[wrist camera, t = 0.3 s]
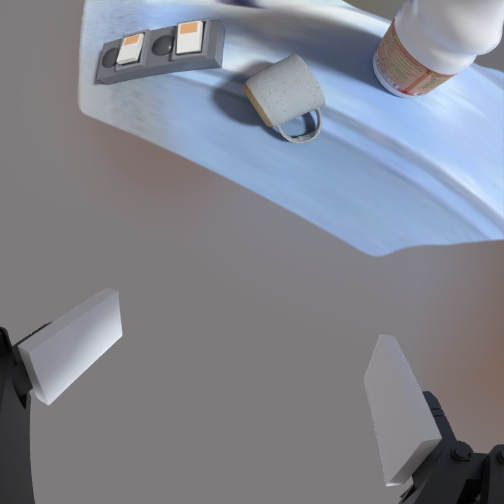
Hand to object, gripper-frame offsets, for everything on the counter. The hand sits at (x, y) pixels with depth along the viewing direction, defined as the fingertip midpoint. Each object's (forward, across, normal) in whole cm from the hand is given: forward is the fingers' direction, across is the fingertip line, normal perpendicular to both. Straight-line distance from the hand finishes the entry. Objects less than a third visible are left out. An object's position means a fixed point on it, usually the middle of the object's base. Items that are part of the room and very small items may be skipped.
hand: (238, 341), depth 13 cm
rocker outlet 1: (+23, -24, +26) cm, 42 cm away
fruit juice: (+28, +15, +27) cm, 41 cm away
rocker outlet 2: (+23, -14, +27) cm, 38 cm away
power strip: (+28, -21, +26) cm, 43 cm away
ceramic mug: (+28, 0, +18) cm, 33 cm away
